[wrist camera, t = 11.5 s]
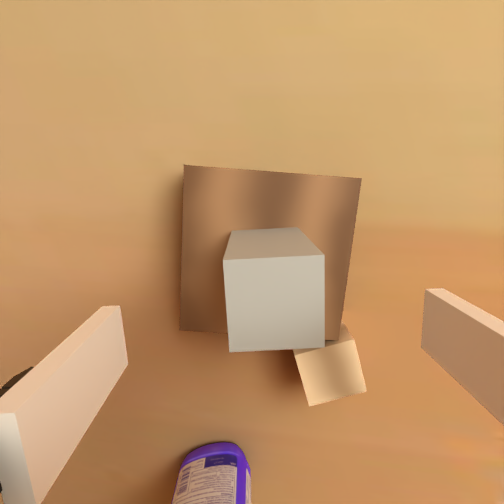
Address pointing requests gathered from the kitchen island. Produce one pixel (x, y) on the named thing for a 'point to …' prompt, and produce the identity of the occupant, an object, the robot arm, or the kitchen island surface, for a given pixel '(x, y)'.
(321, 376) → the maple cube
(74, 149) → the kitchen island surface
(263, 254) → the pale gray block
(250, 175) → the walnut block
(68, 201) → the kitchen island surface
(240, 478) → the bottle
